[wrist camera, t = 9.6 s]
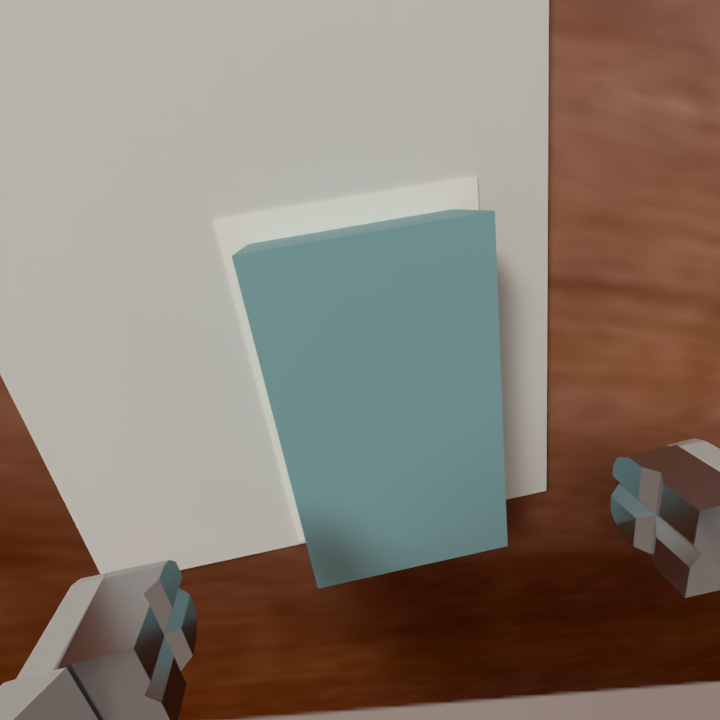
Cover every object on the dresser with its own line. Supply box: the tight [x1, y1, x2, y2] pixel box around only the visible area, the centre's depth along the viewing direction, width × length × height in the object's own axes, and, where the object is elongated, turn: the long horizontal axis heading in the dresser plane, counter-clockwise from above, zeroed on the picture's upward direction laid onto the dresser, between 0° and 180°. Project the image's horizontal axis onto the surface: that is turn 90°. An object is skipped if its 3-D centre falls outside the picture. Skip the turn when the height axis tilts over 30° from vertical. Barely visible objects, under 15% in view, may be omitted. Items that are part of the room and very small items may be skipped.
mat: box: [0, 0, 549, 574], centre depth 13 cm, size 17×18×1 cm
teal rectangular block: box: [232, 209, 508, 588], centre depth 13 cm, size 10×6×3 cm, turn 9°
